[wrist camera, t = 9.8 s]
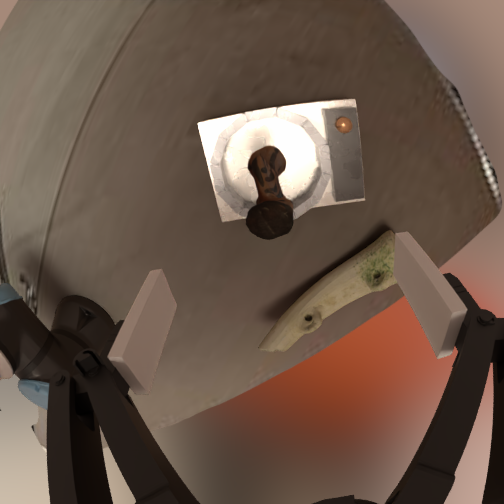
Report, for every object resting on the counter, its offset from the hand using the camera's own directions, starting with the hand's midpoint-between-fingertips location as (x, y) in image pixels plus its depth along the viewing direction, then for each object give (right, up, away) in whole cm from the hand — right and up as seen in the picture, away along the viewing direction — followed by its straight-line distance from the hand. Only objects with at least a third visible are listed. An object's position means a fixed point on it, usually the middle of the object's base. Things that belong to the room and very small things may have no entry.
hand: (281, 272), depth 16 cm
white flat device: (+3, +15, +24) cm, 29 cm away
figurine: (0, +12, +22) cm, 25 cm away
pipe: (+12, -4, +36) cm, 38 cm away
